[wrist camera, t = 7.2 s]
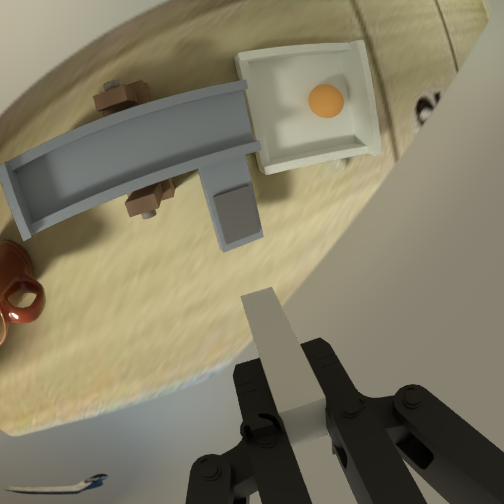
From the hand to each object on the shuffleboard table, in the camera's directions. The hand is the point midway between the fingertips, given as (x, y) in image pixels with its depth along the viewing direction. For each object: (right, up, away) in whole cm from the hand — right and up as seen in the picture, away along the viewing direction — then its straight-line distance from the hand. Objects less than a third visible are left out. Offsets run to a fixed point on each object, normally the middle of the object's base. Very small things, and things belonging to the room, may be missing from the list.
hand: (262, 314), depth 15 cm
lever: (-9, +8, +9) cm, 15 cm away
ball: (+7, +17, +11) cm, 22 cm away
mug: (-28, +1, +14) cm, 31 cm away
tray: (+5, +18, +13) cm, 23 cm away
